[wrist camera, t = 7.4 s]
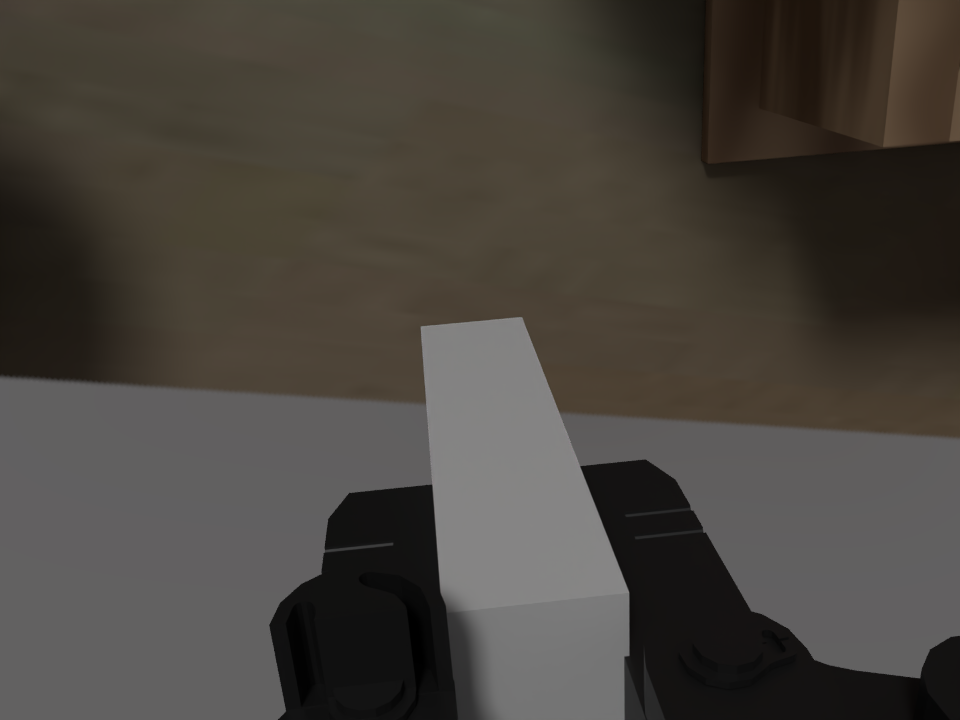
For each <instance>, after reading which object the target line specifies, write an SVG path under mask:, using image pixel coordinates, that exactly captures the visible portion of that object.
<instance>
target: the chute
mask: <svg viewBox="0 0 960 720" xmlns="http://www.w3.org/2000/svg"><path fill="white" fill-rule="evenodd" d="M949 143H960V0H706V12H705V47H704V82H703V116H702V151H701V161H703V162H705V163H707V164H713V163H725V162H736V161H748V160H760V159H772V158H784V157H795V156H807V155H819V154H831V153H843V152H854V151H866V150H878V149H890V148H902V147H914V146H925V145H937V144H949Z"/></svg>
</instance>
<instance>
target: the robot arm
mask: <svg viewBox="0 0 960 720" xmlns="http://www.w3.org/2000/svg"><path fill="white" fill-rule="evenodd" d="M421 337H422V351H423V364H424V378H425V391H426V404H427V417H428V431H429V445H430V457H431V471H432V485H424V486H414V487H404V488H394V489H384V490H375V491H365V492H355V493H349V494H348V495H347V496H346V498H345V499H344V500H343V501H342V503H341V504H340V505H339V506H338V508H337V509H336V510H335V511H334V513H333V514H332V515H331V516H330V518H329V519H328V525H327V533H326V541H325V553H324V556H323V564H322V574H321V575H319V576H317V577H315V578H313V579H311V580H309V581H307V582H305V583H303V584H301V585H300V586H299V587H298V588H297V589H295V590H294V591H293V592H292V593H291V594H290V595H289V596H288V597H286V598H285V599H284V600H283V601H282V602H281V603H280V604H279V607H278V608H277V610H276V613H275V615H274V617H273V619H272V621H271V623H270V625H269V626H270V631H271V636H272V641H273V646H274V651H275V656H276V662H277V666H278V672H279V677H280V682H281V687H282V692H283V697H284V702H285V707H286V712H285V713H284V714H283V715H282V716H281V717H280V718H279V719H278V720H960V636H955V637H950V638H949V639H947V640H945V641H944V642H942V643H940V644H939V645H937V646H935V647H934V648H932V649H930V652H929V654H928V656H927V658H926V661H925V663H924V665H923V667H922V671H921V678H911V677H903V676H895V675H887V674H878V673H871V672H863V671H855V670H850V669H844V668H840V667H835V666H830V665H827V664H824V663H821V662H818V661H815V660H814V659H813V658H812V656H811V654H810V653H809V651H808V650H807V648H806V647H805V646H804V645H803V644H802V643H801V642H800V641H799V640H798V639H797V638H796V637H795V635H794V634H793V633H792V632H791V631H790V630H789V629H788V628H786V627H784V626H782V625H780V624H779V623H777V622H775V621H773V620H771V619H769V618H768V617H766V616H764V615H762V614H759V613H755V612H751V610H750V608H749V607H748V605H747V603H746V601H745V600H744V598H743V596H742V594H741V593H740V591H739V589H738V588H737V586H736V584H735V582H734V581H733V579H732V577H731V575H730V574H729V572H728V570H727V569H726V567H725V565H724V563H723V561H722V560H721V558H720V557H719V555H718V553H717V551H716V550H715V548H714V546H713V544H712V542H711V541H710V539H709V537H708V535H707V534H706V533H703V527H702V525H701V523H700V522H699V520H698V518H697V517H696V515H695V513H694V511H691V509H690V504H689V502H688V501H687V499H686V498H685V496H684V494H683V492H682V490H681V489H680V487H679V485H678V483H677V482H676V480H675V479H674V478H672V477H671V476H669V475H668V474H666V473H665V472H663V471H662V470H660V469H659V468H657V467H656V466H654V465H653V464H651V463H650V462H649V461H647V460H636V461H627V462H617V463H607V464H597V465H587V466H580V465H579V463H578V460H577V457H576V455H575V452H574V450H573V447H572V445H571V442H570V440H569V437H568V434H567V432H566V429H565V427H564V424H563V422H562V419H561V416H560V414H559V411H558V409H557V406H556V404H555V401H554V398H553V396H552V393H551V391H550V388H549V386H548V383H547V381H546V378H545V375H544V373H543V370H542V368H541V365H540V363H539V360H538V357H537V355H536V352H535V350H534V347H533V345H532V342H531V339H530V337H529V334H528V332H527V329H526V327H525V324H524V322H523V319H522V317H518V318H507V319H497V320H486V321H475V322H465V323H454V324H443V325H432V326H422V327H421Z"/></svg>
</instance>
